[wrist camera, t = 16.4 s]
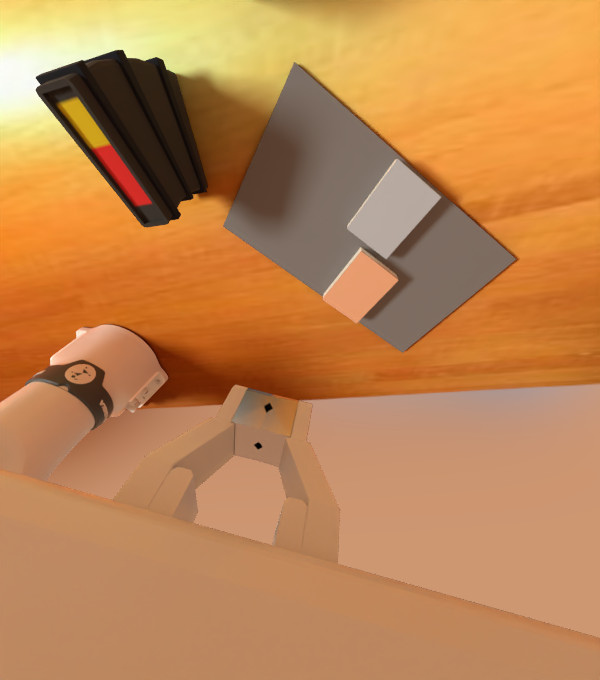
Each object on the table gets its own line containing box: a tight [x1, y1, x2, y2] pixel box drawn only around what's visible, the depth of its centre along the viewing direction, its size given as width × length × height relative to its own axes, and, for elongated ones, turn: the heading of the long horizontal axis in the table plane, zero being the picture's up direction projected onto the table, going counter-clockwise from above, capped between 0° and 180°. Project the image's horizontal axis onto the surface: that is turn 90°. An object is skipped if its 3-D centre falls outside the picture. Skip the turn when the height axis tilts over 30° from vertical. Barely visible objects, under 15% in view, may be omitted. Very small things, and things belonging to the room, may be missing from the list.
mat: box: [224, 62, 516, 353], centre depth 33 cm, size 18×32×1 cm, turn 57°
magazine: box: [36, 50, 208, 227], centre depth 26 cm, size 4×13×15 cm, turn 9°
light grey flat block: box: [347, 159, 441, 259], centre depth 30 cm, size 8×2×6 cm
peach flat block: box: [322, 247, 398, 324], centre depth 35 cm, size 8×2×6 cm
